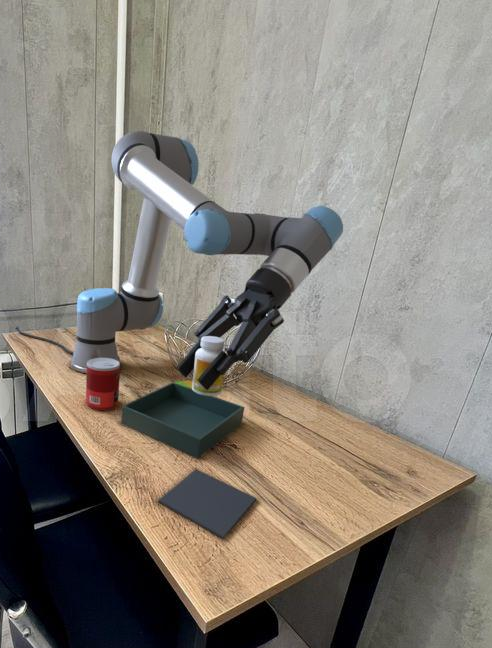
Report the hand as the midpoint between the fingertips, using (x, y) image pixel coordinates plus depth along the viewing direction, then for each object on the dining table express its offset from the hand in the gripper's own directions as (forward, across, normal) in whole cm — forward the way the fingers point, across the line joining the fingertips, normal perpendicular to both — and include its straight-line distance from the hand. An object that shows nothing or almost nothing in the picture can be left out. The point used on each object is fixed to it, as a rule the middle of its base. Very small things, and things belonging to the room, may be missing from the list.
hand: (191, 378), depth 69 cm
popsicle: (-2, +30, -29) cm, 41 cm away
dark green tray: (+6, +14, -21) cm, 26 cm away
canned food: (+15, +31, -12) cm, 36 cm away
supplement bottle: (0, 0, -5) cm, 5 cm away
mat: (+14, -10, -12) cm, 21 cm away
